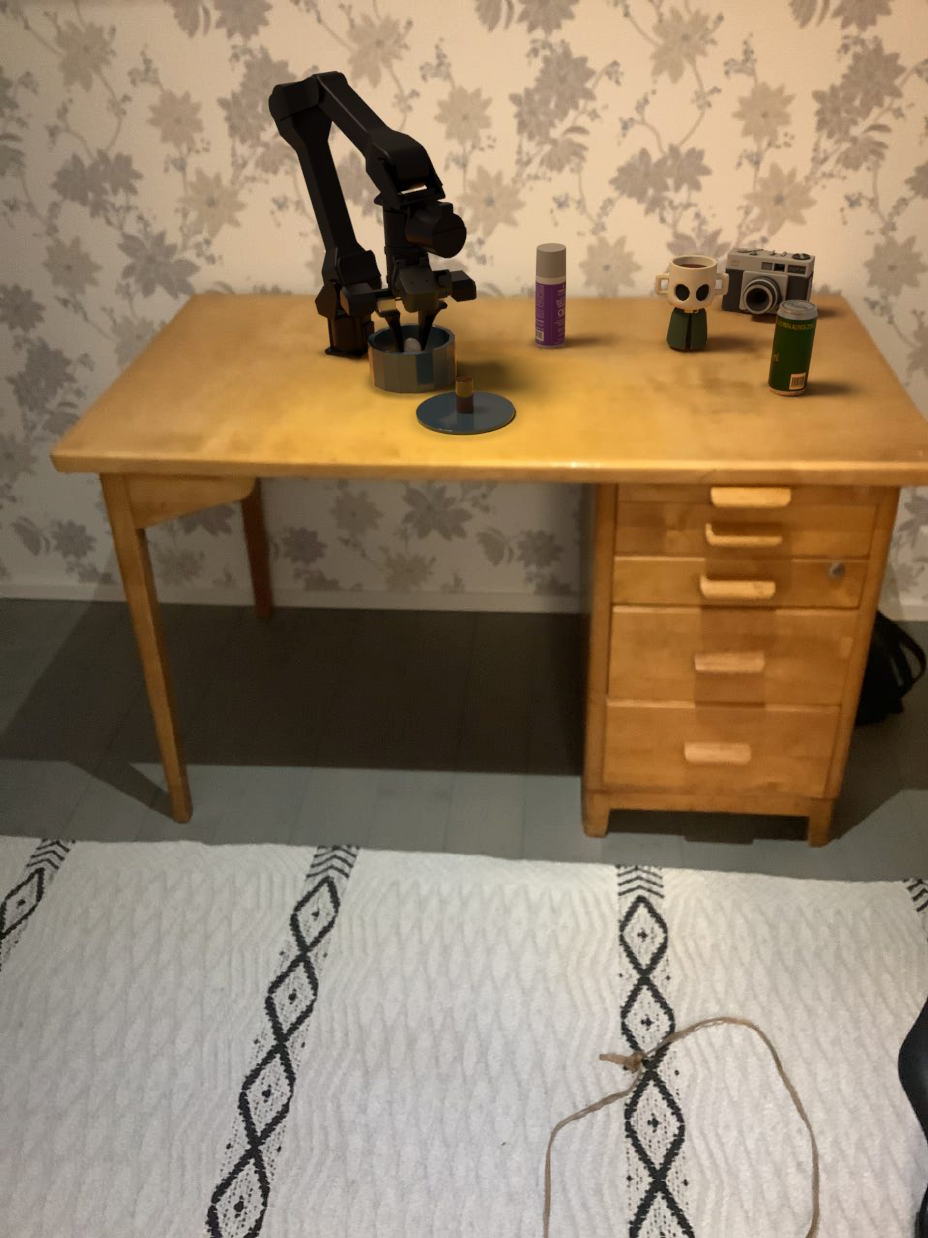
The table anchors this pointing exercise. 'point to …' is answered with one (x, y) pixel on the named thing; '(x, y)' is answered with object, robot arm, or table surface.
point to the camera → (766, 280)
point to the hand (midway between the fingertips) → (411, 350)
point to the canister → (412, 361)
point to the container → (550, 295)
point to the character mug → (690, 297)
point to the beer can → (792, 347)
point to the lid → (465, 410)
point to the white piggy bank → (412, 346)
